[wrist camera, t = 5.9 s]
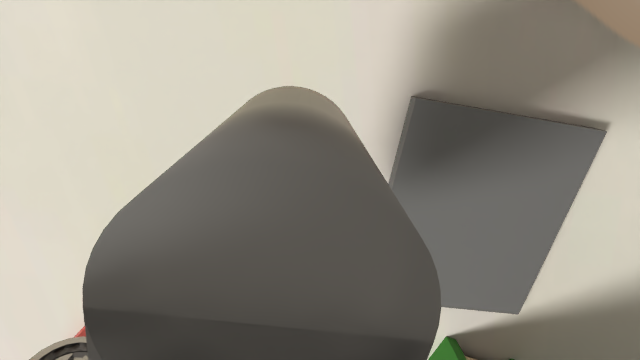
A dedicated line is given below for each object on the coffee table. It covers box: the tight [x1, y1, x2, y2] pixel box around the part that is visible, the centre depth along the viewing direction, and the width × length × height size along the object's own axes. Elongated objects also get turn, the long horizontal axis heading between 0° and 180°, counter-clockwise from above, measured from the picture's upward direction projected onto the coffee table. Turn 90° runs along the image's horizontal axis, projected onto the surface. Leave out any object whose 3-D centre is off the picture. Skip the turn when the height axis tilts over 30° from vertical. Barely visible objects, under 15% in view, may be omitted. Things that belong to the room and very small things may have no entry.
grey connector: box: [83, 86, 441, 360], centre depth 7 cm, size 4×10×9 cm, turn 170°
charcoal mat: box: [388, 97, 607, 314], centre depth 22 cm, size 12×14×1 cm
